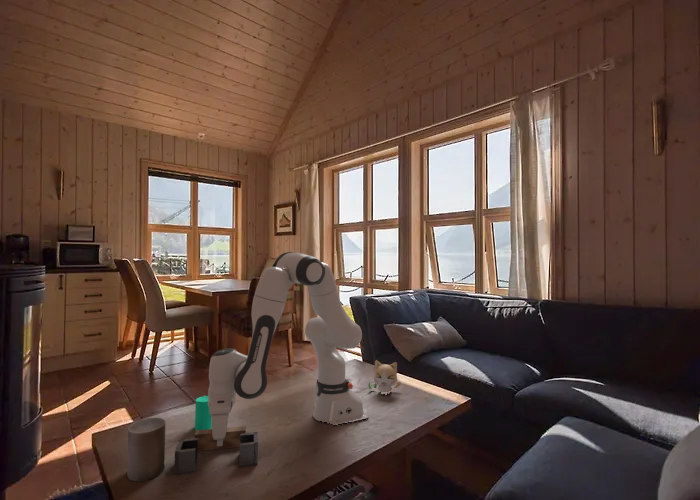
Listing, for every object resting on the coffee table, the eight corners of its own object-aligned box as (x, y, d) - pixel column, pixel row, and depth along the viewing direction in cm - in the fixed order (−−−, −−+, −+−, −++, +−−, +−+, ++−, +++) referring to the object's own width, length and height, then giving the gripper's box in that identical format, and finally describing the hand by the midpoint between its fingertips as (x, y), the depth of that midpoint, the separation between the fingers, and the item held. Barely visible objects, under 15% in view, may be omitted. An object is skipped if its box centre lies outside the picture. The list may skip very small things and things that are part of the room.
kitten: (366, 395, 169) (367, 363, 169) (370, 387, 179) (371, 357, 179) (398, 399, 165) (399, 366, 166) (400, 391, 175) (401, 360, 175)
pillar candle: (170, 462, 111) (171, 413, 111) (154, 482, 101) (155, 428, 102) (138, 462, 111) (139, 413, 111) (118, 482, 101) (120, 428, 101)
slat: (245, 442, 125) (245, 426, 125) (245, 446, 122) (245, 430, 122) (195, 447, 121) (196, 430, 121) (193, 451, 118) (194, 434, 118)
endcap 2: (256, 451, 118) (257, 431, 118) (257, 464, 111) (258, 443, 111) (239, 454, 117) (240, 433, 117) (239, 467, 110) (239, 445, 110)
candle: (205, 432, 130) (207, 398, 130) (191, 430, 131) (192, 396, 132) (215, 424, 136) (216, 392, 136) (201, 422, 137) (202, 390, 137)
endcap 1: (174, 475, 105) (174, 452, 105) (178, 460, 112) (179, 439, 112) (194, 472, 106) (194, 450, 106) (197, 458, 113) (198, 437, 114)
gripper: (214, 387, 131) (213, 426, 130) (208, 411, 111) (207, 457, 111) (233, 386, 132) (232, 424, 132) (230, 410, 113) (229, 454, 112)
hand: (220, 439), depth 121 cm, fingers open, 5 cm apart
